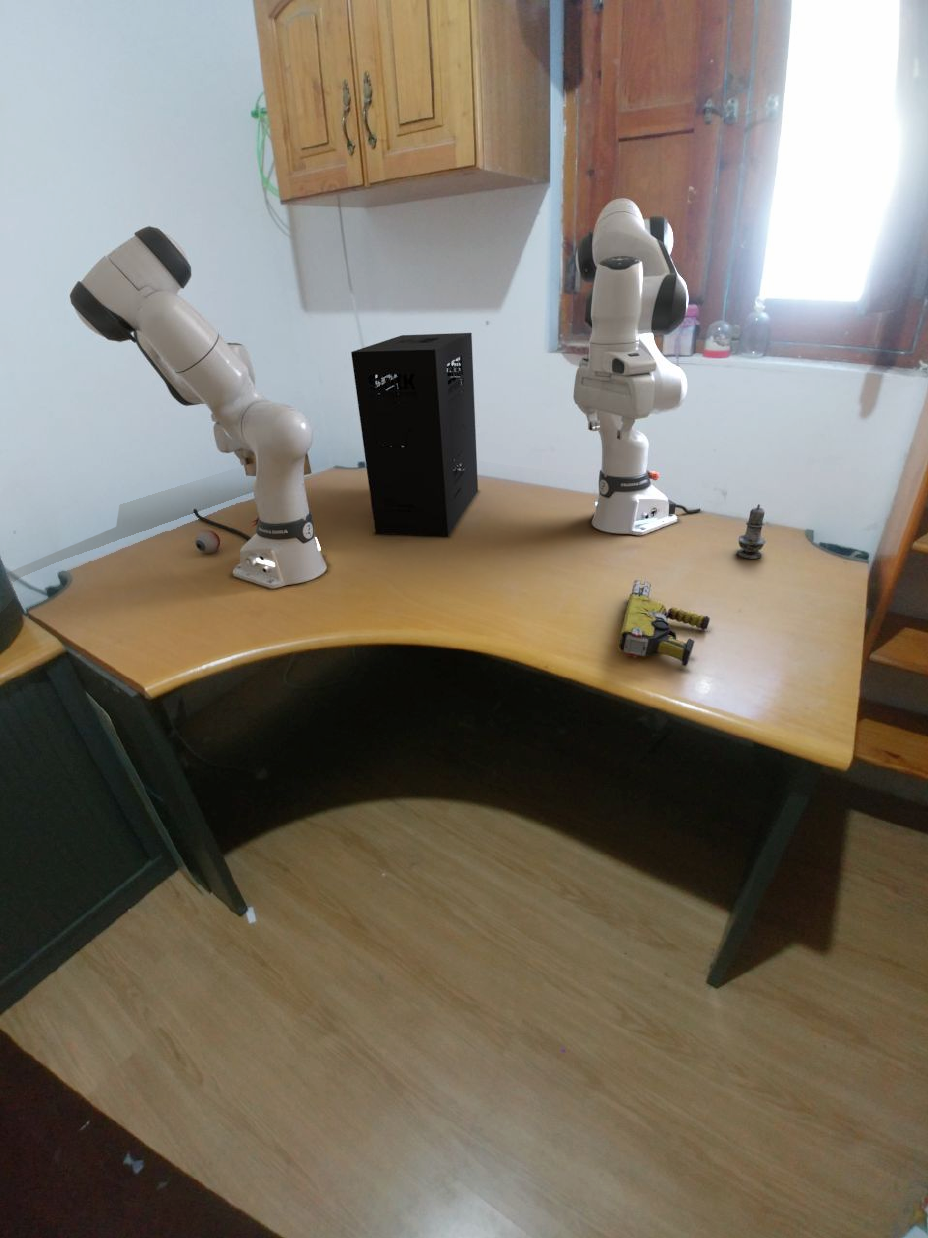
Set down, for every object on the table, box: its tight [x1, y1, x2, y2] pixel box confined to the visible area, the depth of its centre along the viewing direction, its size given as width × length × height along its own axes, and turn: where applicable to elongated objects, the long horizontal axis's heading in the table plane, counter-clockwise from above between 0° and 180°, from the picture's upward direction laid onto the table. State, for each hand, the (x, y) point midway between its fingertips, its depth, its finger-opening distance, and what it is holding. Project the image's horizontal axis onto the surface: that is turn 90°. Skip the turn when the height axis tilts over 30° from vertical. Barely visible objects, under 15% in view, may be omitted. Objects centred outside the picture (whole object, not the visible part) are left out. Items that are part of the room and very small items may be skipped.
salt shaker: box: [736, 503, 767, 560], centre depth 136 cm, size 6×6×12 cm
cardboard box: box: [350, 332, 479, 538], centre depth 164 cm, size 38×20×45 cm, turn 167°
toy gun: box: [617, 579, 711, 667], centre depth 111 cm, size 5×24×15 cm
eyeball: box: [194, 529, 221, 554], centre depth 155 cm, size 6×6×6 cm
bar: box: [242, 448, 312, 477], centre depth 159 cm, size 26×6×8 cm, turn 45°
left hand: (256, 461), depth 167 cm, fingers closed on bar, 6 cm apart
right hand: (607, 434), depth 118 cm, fingers open, 8 cm apart
